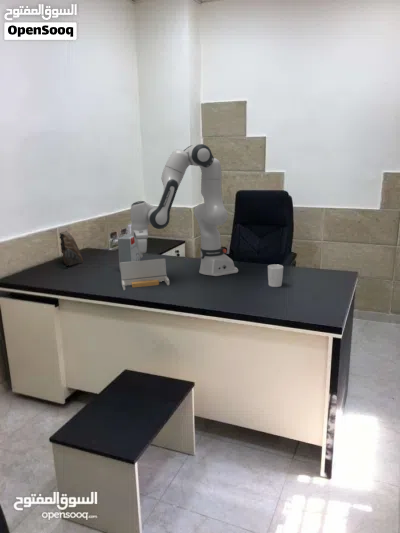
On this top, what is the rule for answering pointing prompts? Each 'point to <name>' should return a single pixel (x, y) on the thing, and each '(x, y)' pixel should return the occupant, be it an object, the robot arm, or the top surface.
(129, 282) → the duct
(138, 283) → the wooden block
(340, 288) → the top surface
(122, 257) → the hard drive box
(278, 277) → the white cup
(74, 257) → the owl
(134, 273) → the panel
